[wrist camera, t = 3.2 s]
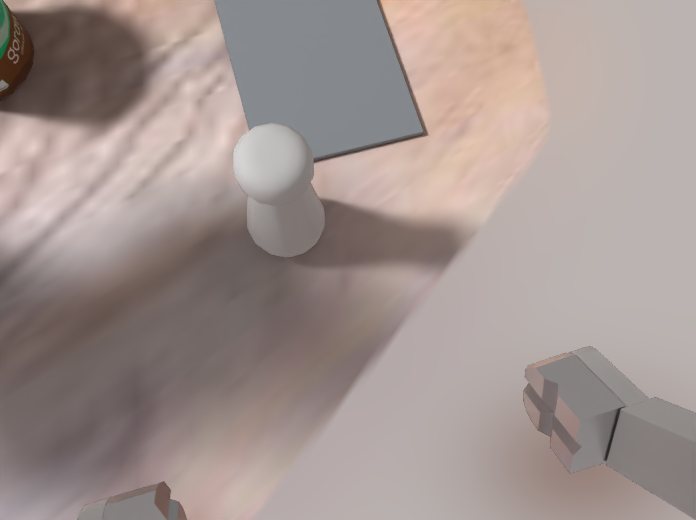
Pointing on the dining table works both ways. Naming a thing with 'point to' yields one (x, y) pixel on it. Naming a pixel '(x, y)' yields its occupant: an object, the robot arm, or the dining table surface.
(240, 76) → the mat
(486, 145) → the dining table surface
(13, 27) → the food container
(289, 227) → the salt shaker
